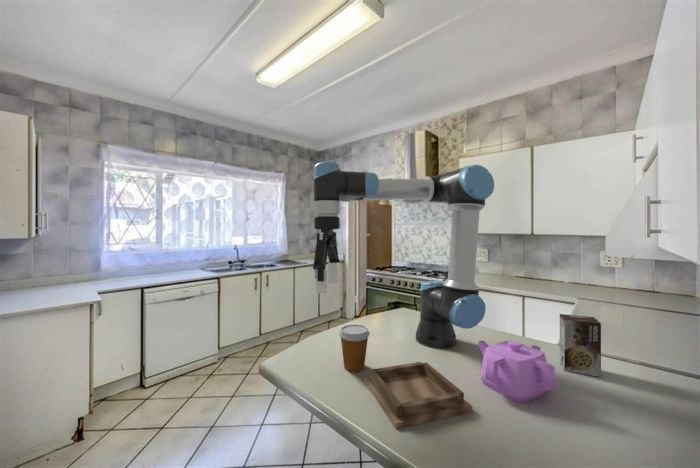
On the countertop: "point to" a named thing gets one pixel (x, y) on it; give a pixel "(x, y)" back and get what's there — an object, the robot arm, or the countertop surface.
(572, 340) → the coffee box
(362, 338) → the disposable coffee cup
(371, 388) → the cup caddy
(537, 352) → the teakettle
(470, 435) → the countertop surface
